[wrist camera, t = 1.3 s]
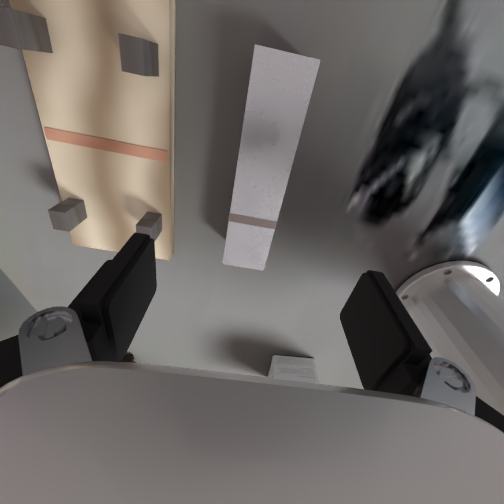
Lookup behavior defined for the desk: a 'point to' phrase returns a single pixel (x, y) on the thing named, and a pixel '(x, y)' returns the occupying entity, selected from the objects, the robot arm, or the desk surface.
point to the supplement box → (293, 369)
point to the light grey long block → (267, 151)
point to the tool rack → (104, 112)
